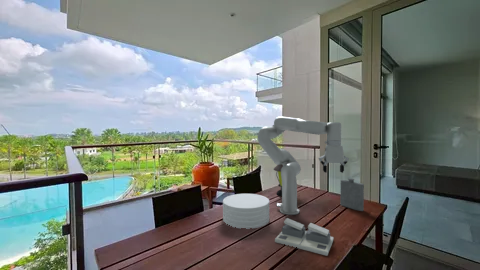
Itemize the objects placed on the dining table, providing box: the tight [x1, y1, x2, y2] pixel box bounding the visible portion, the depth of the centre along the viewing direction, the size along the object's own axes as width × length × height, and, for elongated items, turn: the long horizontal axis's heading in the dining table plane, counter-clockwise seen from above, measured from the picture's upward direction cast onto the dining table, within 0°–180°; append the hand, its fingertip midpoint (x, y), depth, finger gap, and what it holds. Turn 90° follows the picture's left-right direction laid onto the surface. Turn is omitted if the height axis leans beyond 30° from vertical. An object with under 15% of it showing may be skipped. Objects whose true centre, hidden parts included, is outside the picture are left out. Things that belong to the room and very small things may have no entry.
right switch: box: [307, 222, 330, 236], centre depth 110 cm, size 9×4×1 cm, turn 59°
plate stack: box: [222, 193, 270, 230], centre depth 140 cm, size 28×28×12 cm
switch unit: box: [274, 223, 335, 257], centre depth 112 cm, size 24×16×4 cm, turn 59°
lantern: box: [273, 164, 283, 197], centre depth 188 cm, size 25×19×30 cm
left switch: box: [283, 217, 305, 230], centre depth 116 cm, size 9×4×1 cm, turn 59°
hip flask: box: [339, 177, 365, 212], centre depth 157 cm, size 16×4×20 cm, turn 34°
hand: (333, 172), depth 136 cm, fingers open, 9 cm apart
